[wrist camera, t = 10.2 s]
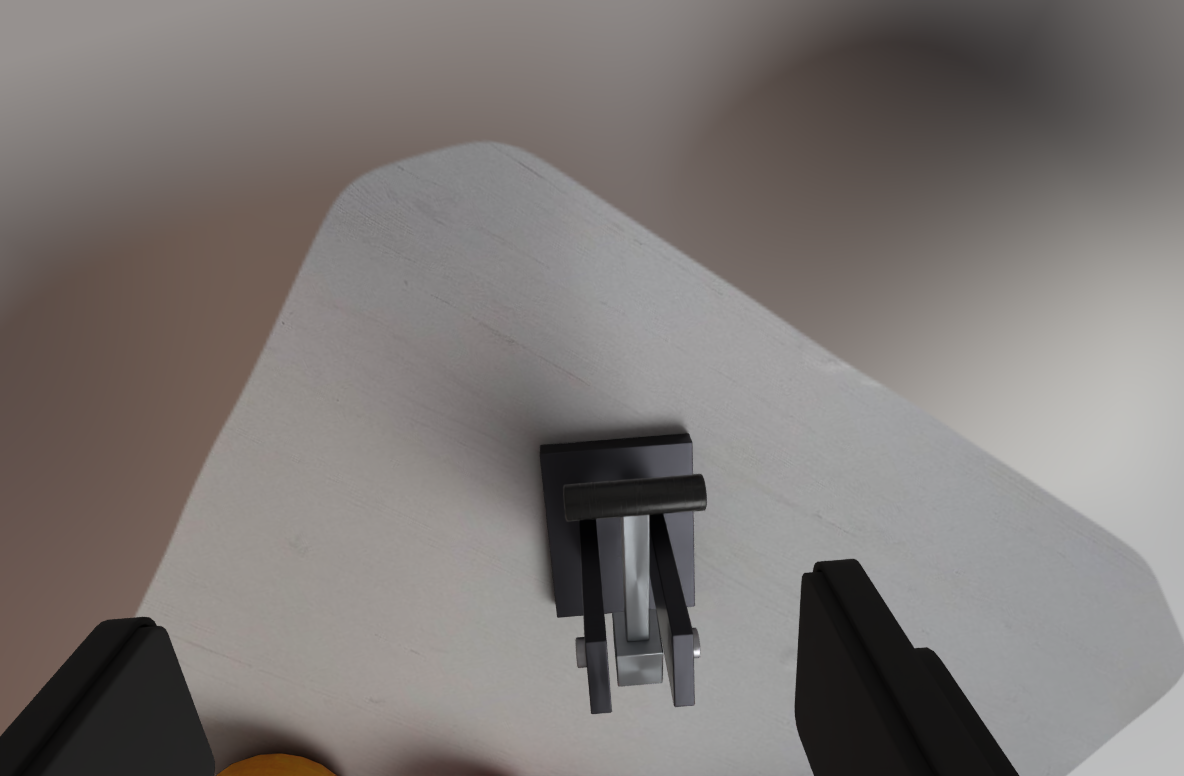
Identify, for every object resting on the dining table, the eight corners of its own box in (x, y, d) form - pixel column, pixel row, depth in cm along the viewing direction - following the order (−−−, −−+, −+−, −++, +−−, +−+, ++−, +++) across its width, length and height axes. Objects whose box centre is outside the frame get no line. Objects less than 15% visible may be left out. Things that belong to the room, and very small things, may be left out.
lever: (562, 468, 29) (563, 514, 27) (699, 457, 29) (710, 502, 27) (582, 645, 37) (584, 690, 35) (688, 636, 37) (696, 680, 35)
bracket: (540, 444, 43) (532, 577, 31) (688, 433, 43) (738, 561, 31) (557, 605, 48) (556, 774, 36) (691, 594, 48) (735, 759, 36)
